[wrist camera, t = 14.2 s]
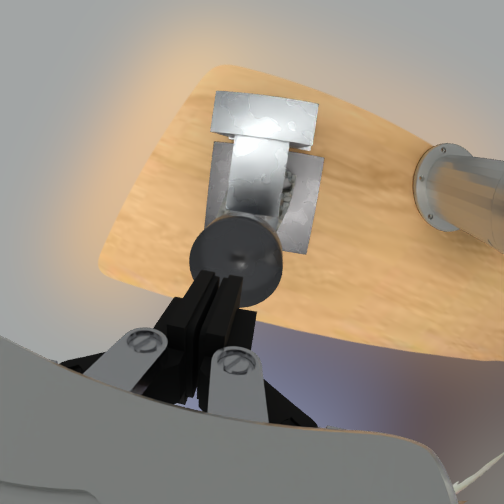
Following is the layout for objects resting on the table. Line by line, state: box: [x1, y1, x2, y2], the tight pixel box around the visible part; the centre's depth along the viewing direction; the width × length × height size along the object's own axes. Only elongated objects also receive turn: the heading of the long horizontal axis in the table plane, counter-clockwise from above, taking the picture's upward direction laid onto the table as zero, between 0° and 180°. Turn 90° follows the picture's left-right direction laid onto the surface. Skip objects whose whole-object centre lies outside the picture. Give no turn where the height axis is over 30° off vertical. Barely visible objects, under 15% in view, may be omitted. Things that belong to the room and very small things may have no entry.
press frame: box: [204, 91, 324, 254], centre depth 28 cm, size 14×18×17 cm
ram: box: [189, 210, 283, 308], centre depth 22 cm, size 5×5×13 cm
